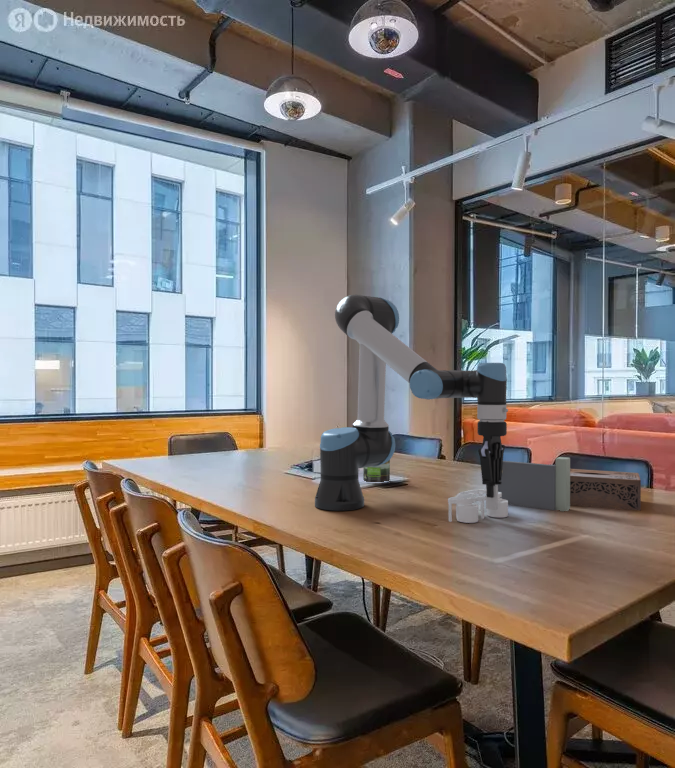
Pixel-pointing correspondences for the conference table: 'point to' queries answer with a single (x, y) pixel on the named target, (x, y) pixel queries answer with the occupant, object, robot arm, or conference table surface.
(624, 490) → the tissue box cover
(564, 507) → the door leaf
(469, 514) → the white framed double cylinder
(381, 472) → the coffee can
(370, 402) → the robot arm
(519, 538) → the conference table surface
